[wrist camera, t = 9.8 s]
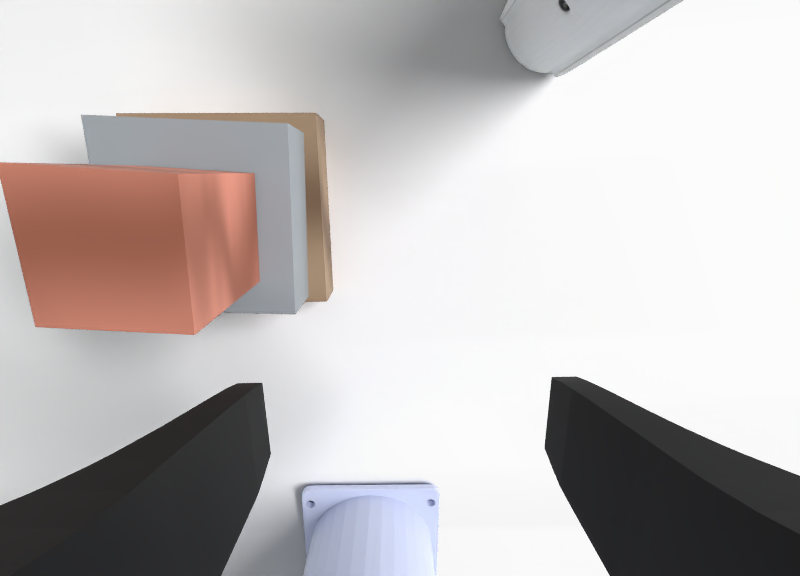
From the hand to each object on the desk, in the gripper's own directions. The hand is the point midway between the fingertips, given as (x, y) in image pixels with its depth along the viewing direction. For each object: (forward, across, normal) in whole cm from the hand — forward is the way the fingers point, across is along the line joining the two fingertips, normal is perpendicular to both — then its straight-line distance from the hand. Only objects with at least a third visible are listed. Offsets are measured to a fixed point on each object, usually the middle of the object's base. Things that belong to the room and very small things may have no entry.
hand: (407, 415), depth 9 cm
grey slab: (+8, +8, -4) cm, 12 cm away
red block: (+6, +7, -4) cm, 10 cm away
